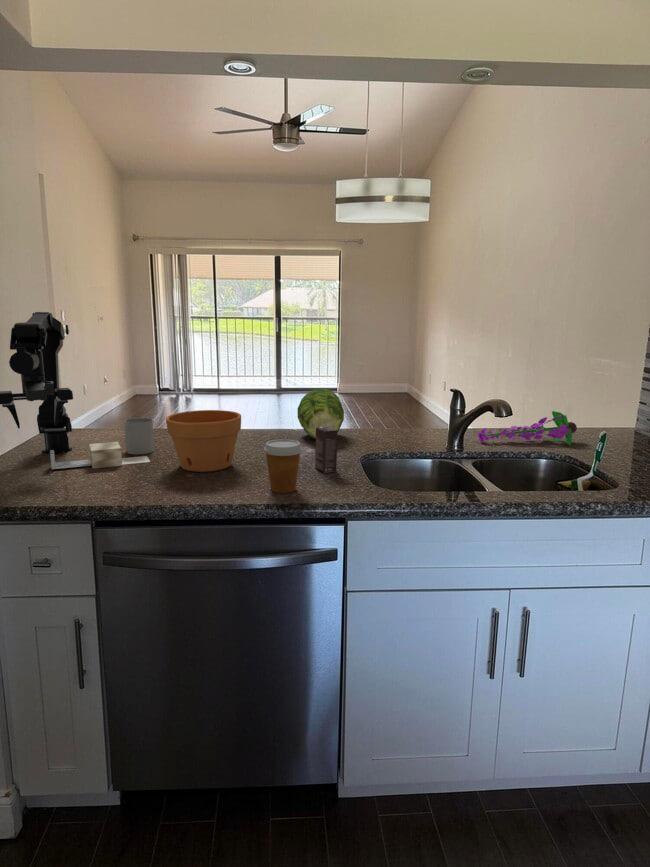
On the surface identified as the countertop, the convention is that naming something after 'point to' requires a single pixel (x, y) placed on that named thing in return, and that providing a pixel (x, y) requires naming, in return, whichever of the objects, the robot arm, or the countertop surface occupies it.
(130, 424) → the cup
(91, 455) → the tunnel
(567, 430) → the purple flower
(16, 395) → the robot arm
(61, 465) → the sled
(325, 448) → the box
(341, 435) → the countertop surface
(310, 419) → the lettuce
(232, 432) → the flower pot
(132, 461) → the pad
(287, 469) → the disposable coffee cup
